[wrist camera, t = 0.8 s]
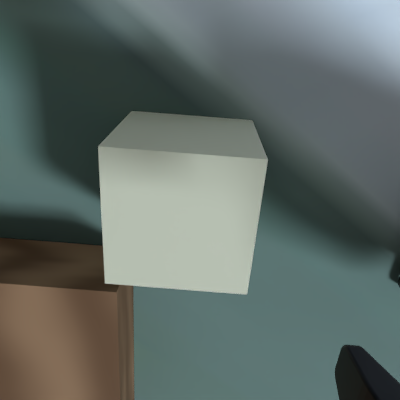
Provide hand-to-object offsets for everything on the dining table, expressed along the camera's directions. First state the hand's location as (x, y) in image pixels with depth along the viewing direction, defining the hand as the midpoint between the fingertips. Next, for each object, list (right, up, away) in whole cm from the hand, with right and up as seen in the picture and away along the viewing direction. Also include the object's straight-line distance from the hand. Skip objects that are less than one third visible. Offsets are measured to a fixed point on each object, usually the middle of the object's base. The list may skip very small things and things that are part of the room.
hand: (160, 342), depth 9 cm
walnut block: (-10, -5, +16) cm, 19 cm away
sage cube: (0, +5, +11) cm, 12 cm away
